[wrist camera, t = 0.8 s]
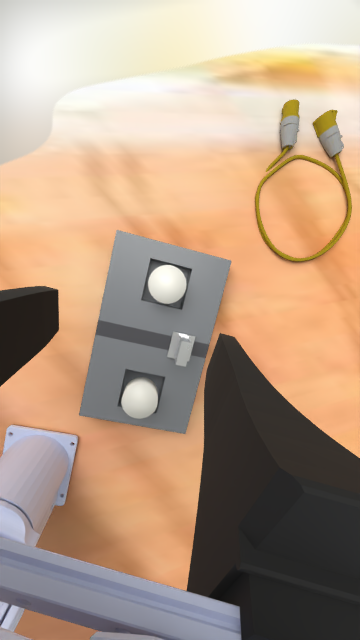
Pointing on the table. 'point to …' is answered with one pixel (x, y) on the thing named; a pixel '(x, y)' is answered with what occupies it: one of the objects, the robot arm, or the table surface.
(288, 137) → the extension cord
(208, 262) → the switch panel
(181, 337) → the slider tab
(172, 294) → the button
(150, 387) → the button
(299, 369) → the table surface
